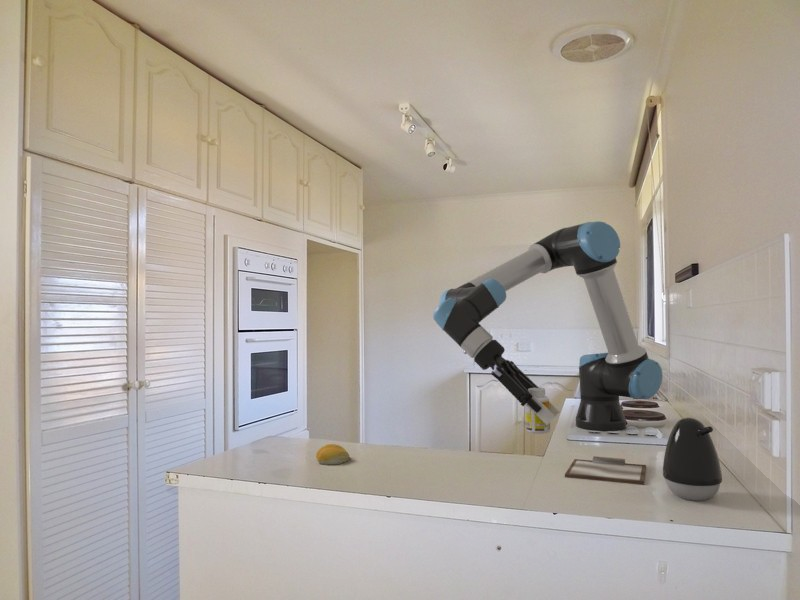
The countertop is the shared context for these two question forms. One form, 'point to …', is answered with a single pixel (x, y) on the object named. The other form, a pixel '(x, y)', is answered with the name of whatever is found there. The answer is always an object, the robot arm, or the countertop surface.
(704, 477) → the pump dispenser
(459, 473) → the countertop surface
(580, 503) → the countertop surface
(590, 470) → the clipboard
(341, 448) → the bread roll
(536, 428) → the supplement bottle
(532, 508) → the countertop surface
